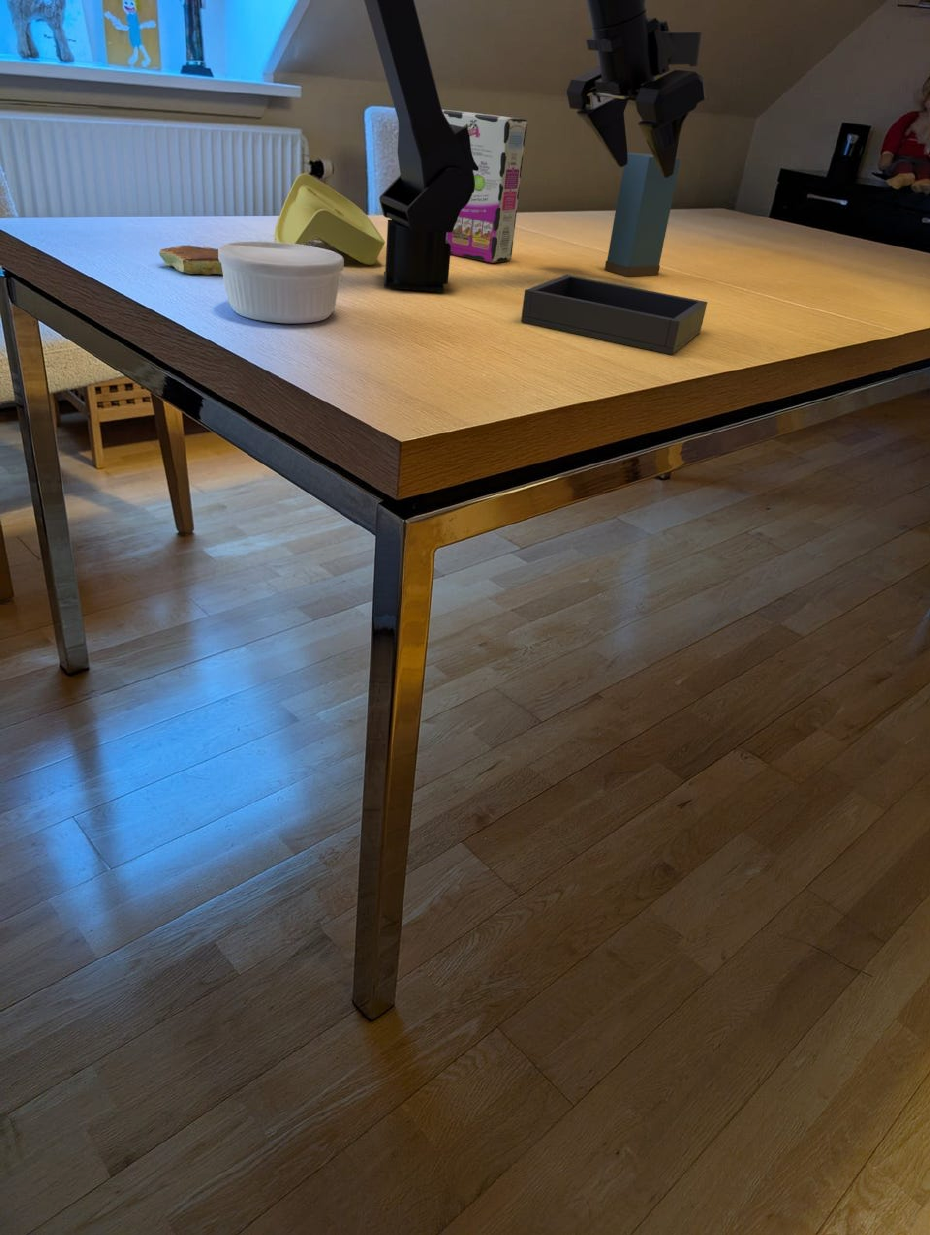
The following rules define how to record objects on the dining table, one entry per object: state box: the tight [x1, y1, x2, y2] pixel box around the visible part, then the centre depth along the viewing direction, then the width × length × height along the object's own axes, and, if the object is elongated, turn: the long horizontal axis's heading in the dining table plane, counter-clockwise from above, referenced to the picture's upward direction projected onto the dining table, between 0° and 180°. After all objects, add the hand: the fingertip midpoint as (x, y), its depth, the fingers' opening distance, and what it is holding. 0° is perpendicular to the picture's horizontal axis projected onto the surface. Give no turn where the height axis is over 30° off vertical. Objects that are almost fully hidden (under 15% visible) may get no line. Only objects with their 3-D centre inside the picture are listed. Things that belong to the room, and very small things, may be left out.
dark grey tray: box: [520, 274, 708, 356], centre depth 89 cm, size 16×12×3 cm
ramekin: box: [217, 240, 345, 324], centre depth 80 cm, size 11×11×5 cm
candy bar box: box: [442, 109, 528, 264], centre depth 113 cm, size 11×5×16 cm, turn 56°
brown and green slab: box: [158, 245, 223, 276], centre depth 93 cm, size 11×8×2 cm
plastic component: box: [274, 173, 386, 266], centre depth 109 cm, size 20×7×10 cm
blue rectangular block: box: [604, 152, 682, 278], centre depth 114 cm, size 6×4×14 cm
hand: (645, 170), depth 102 cm, fingers open, 9 cm apart
